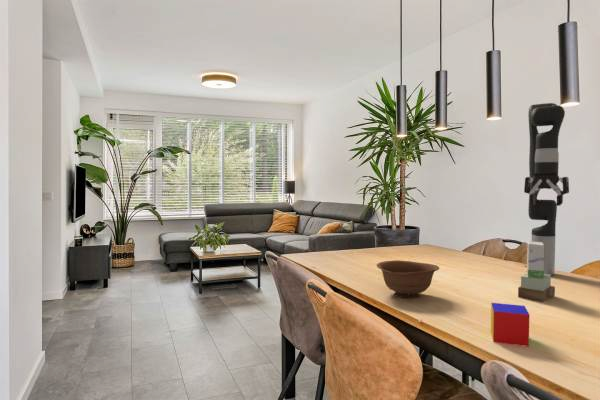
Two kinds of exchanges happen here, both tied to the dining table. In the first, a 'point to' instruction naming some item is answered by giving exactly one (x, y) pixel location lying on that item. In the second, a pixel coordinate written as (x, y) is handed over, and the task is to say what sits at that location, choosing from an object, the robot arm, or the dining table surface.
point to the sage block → (536, 282)
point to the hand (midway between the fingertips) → (545, 205)
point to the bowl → (407, 277)
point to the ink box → (535, 259)
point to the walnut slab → (536, 294)
